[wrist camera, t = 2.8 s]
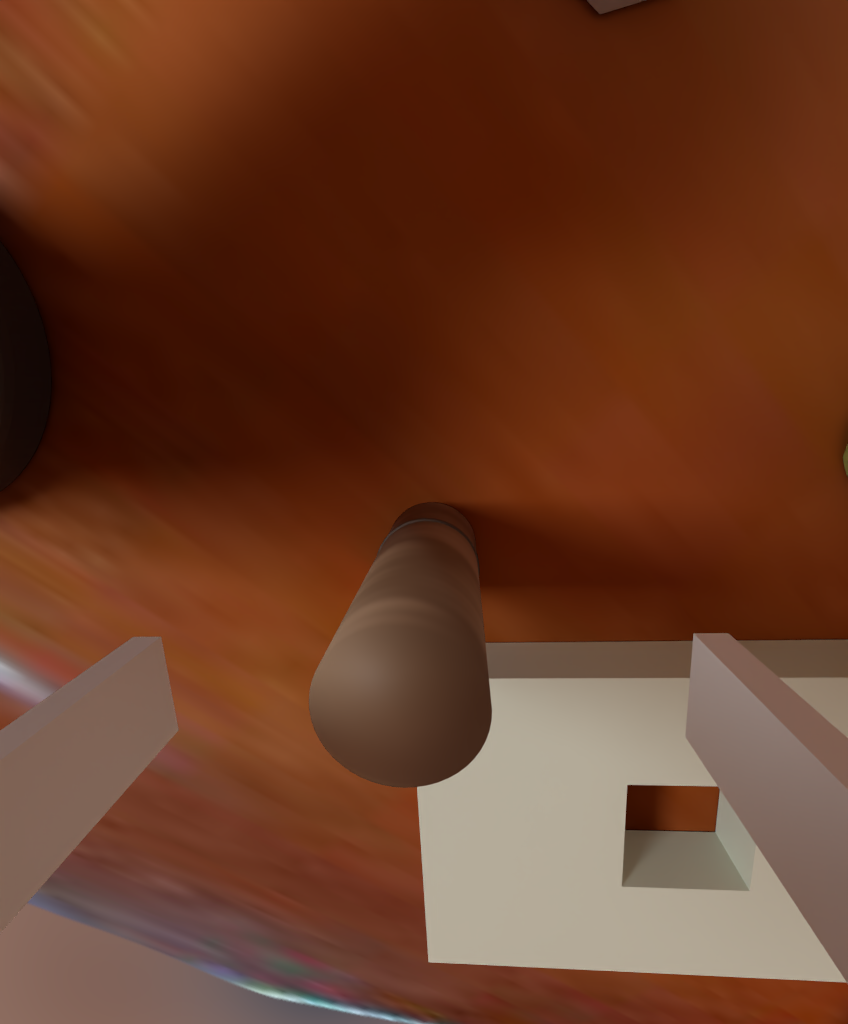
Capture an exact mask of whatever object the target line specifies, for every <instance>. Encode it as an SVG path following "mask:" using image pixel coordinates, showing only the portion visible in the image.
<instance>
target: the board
mask: <svg viewBox="0 0 848 1024" xmlns="http://www.w3.org/2000/svg"><path fill="white" fill-rule="evenodd" d="M738 642H739V643H740V644H741V645H742V646H743V647H745V648H746V649H747V650H748V651H749V652H750V653H751V654H753V655H754V656H755V657H756V658H757V659H758V660H759V661H761V662H762V663H763V664H764V665H765V666H766V667H767V668H768V669H770V670H771V671H772V672H773V673H774V674H775V675H776V676H778V677H779V678H780V679H781V680H782V681H783V682H784V683H786V684H787V685H788V686H789V687H790V688H791V689H792V690H794V691H795V692H796V693H797V694H798V695H799V696H800V697H802V698H803V699H804V700H805V701H806V702H807V703H808V704H810V705H811V706H812V707H813V708H814V709H815V710H816V711H817V712H819V713H820V714H821V715H822V716H823V717H824V718H825V719H827V720H828V721H829V722H830V723H831V724H832V725H833V726H835V727H836V728H837V729H838V730H839V731H840V732H841V733H843V734H844V735H845V736H846V737H847V738H848V640H740V641H738ZM485 644H486V654H487V664H488V674H489V685H490V695H491V705H492V721H491V726H490V731H489V734H488V736H487V739H486V742H485V743H484V745H483V747H482V749H481V751H480V752H479V753H478V755H477V756H476V757H475V759H474V760H473V761H472V762H471V763H470V764H469V765H468V766H466V767H465V768H464V769H462V770H461V771H460V772H458V773H457V774H455V775H453V776H452V777H450V778H448V779H445V780H443V781H440V782H438V783H434V784H431V785H427V786H420V787H417V792H418V807H419V823H420V838H421V853H422V868H423V884H424V899H425V914H426V929H427V944H428V960H429V962H437V963H457V964H478V965H499V966H519V967H540V968H561V969H582V970H602V971H623V972H644V973H664V974H685V975H706V976H727V977H747V978H768V979H789V980H809V981H830V982H846V980H845V979H844V977H843V976H842V974H841V973H840V971H839V970H838V968H837V967H836V965H835V964H834V962H833V961H832V959H831V958H830V956H829V955H828V953H827V952H826V950H825V949H824V947H823V945H822V944H821V942H820V941H819V939H818V938H817V936H816V935H815V933H814V932H813V930H812V929H811V927H810V926H809V924H808V923H807V921H806V920H805V918H804V917H803V915H802V914H801V912H800V910H799V909H798V907H797V906H796V904H795V903H794V901H793V900H792V898H791V897H790V895H789V894H788V892H787V891H786V889H785V888H784V886H783V885H782V883H781V882H780V880H779V879H778V877H777V875H776V874H775V872H774V871H773V869H772V868H771V866H770V865H769V863H768V862H767V860H766V859H765V857H764V856H763V854H762V853H761V851H760V850H759V848H758V847H757V845H756V844H755V842H754V840H753V839H752V837H751V836H750V834H749V833H748V831H747V830H746V828H745V827H744V825H743V824H742V822H741V821H740V819H739V818H738V816H737V815H736V813H735V812H734V810H733V809H732V807H731V805H730V804H729V802H728V801H727V799H726V798H725V796H724V795H723V793H722V792H721V790H720V794H719V803H718V812H717V821H716V831H715V832H685V831H643V830H625V819H626V801H627V785H669V786H717V784H716V783H715V781H714V780H713V778H712V777H711V775H710V774H709V772H708V771H707V769H706V767H705V766H704V764H703V763H702V761H701V760H700V758H699V757H698V755H697V754H696V752H695V751H694V749H693V748H692V746H691V745H690V743H689V742H688V740H687V739H686V737H685V734H686V721H687V709H688V696H689V684H690V671H691V658H692V646H693V641H631V642H523V643H485Z"/></svg>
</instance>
